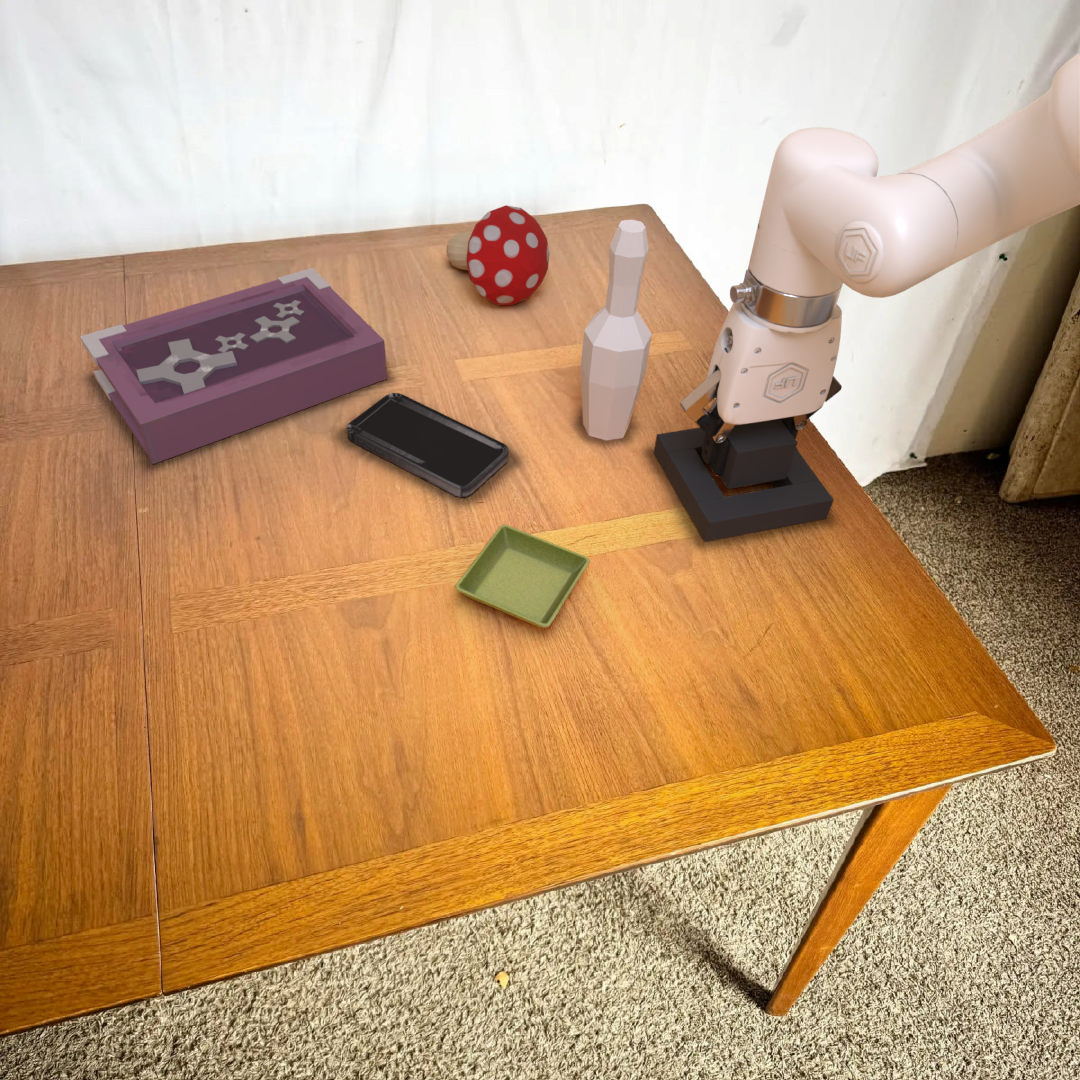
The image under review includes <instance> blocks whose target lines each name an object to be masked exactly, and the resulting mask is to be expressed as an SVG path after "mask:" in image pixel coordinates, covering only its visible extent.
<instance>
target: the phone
mask: <svg viewBox="0 0 1080 1080" xmlns="http://www.w3.org/2000/svg"><path fill="white" fill-rule="evenodd" d="M346 433H347V438H348V440H349V442H351V443H353V444H355V445H357V446H359V447H361V448H363V449H365V450H366V451H368V452H371V453H372V454H374V455H376V456H378V457H380V458H381V459H384V460H386V461H388V462H390V463H391V464H393V465H396V466H397V467H400V468H401V469H404V470H405V471H407V472H409V473H411V474H413V475H414V476H417V477H419V478H421V479H423V480H425V482H429V483H430V484H432V485H434V486H436V487H438V488H440V489H442V490H443V491H445V492H447V493H449V494H451V495H453V496H455V497H458V498H467V497H470V496H471V495H473V494H474V493H475V492H477V491H478V490H479V489H480V488H481V487H482V486H483V485H484V484H485V483H486V482H487V481H488V480H489V479H491V478H492V477H494V475H495V474H496V473H497V472H498V471H499V470H500V469H501V468H503V467H504V466H505V465H506V464H507V462H508V461H509V453H510V451H509V446H508V445H506V444H505V443H504V442H501V441H499V440H498V439H496V438H493V437H491V436H489V435H488V434H485V433H483V432H481V431H479V430H476V429H475V428H473V427H471V426H469V425H467V424H464V423H462V422H460V421H458V420H456V419H455V418H452V417H450V416H448V415H446V414H444V413H442V412H439V411H437V410H436V409H434V408H431V407H429V406H428V405H425V404H424V403H421V402H419V401H417V400H415V399H413V398H410V397H409V396H407V395H405V394H402V393H400V392H391V393H388V394H386V395H385V396H383V397H382V398H380V399H379V400H378V401H377V402H375V403H374V404H372V405H371V406H370V407H368V408H367V409H366V410H365V411H363V412H362V413H361V414H359V415H358V416H357V417H355V418H354V419H352V420H351V421H350V422H348V424H347V425H346Z"/></svg>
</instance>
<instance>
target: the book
mask: <svg viewBox="0 0 1080 1080" xmlns="http://www.w3.org/2000/svg"><path fill="white" fill-rule="evenodd" d="M79 338H80V341H81V343H82V346H83V347H84V348H85V350H86V351H87V354H88V355H89V356H90V358H91V359H92V361H93V362H94V364H95V365H96V367H99V369H96V370H93V375H94V378H95V380H96V381H97V383H98V385H99V386H100V388H101V389H102V390H103V392H104V394H105V395H106V397H107V398H108V400H109V401H110V402H111V403H112V405H114V408H115V409H116V411H117V412H118V414H119V415H120V417H121V418H122V420H123V422H125V424H126V426H127V427H128V429H129V430H130V432H131V433H132V435H133V436H134V438H135V440H136V441H137V442H138V444H139V445H140V447H141V448H142V450H143V451H144V453H145V454H146V456H147V458H148V459H149V460H150V462H151V464H152V465H155V464H158V463H160V462H163V461H167V460H169V459H171V458H174V457H177V456H180V455H183V454H185V453H187V452H190V451H193V450H197V449H199V448H202V447H204V446H206V445H209V444H213V443H215V442H219V441H220V440H221V441H222V440H224V439H227V438H229V437H232V436H235V435H238V434H240V433H242V432H246V431H247V430H252V429H254V428H256V427H258V426H261V425H265V424H268V423H270V422H272V421H275V420H278V419H281V418H283V417H287V416H290V415H292V414H294V413H297V412H300V411H303V410H306V409H308V408H311V407H313V406H316V405H319V404H322V403H325V402H328V401H330V400H333V399H335V398H338V397H342V396H344V395H346V394H349V393H352V392H355V391H357V390H360V389H363V388H365V387H368V386H371V385H374V384H377V383H379V382H382V381H385V380H387V379H388V373H387V372H388V371H387V358H386V357H387V356H386V345H385V340H384V338H383V337H382V336H381V335H379V334H378V332H377V331H376V330H375V329H374V328H373V327H372V326H371V325H369V323H367V321H365V320H364V319H363V318H362V317H361V315H359V314H358V313H357V312H356V311H355V310H354V309H353V307H351V306H350V305H349V304H348V303H347V302H346V301H345V300H344V299H343V298H342V297H341V296H340V295H339V294H338V293H337V292H336V290H334V289H333V288H332V286H331V284H330V283H329V282H328V281H327V280H326V279H325V278H324V277H322V275H321V274H320V273H318V272H317V271H316V269H315V268H314V267H310V268H306V269H303V270H300V271H296V272H293V273H289V274H286V275H284V276H279V277H277V279H275V280H271V281H268V282H265V283H261V284H258V285H255V286H251V287H247V288H245V289H241V290H238V291H235V292H231V293H228V294H224V295H220V296H218V297H217V296H216V297H214V298H210V299H207V300H204V301H201V302H197V303H194V304H190V305H188V306H187V305H186V306H184V307H181V308H176V309H174V310H171V311H166V312H164V313H160V314H157V315H153V316H149V317H147V318H143V319H140V320H136V321H133V322H130V323H127V324H123V323H121V324H118V325H113V326H111V327H107V328H104V329H101V330H97V331H94V332H90V333H87V334H84V335H81V336H79Z"/></svg>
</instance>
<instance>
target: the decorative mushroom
mask: <svg viewBox="0 0 1080 1080" xmlns="http://www.w3.org/2000/svg"><path fill="white" fill-rule="evenodd" d="M446 255H447V256H446V257H447V259H448V261H449V263H450V264H451V265H452V266H453V267H455V268H456V269H459V270H464V271H468V275H469V279H470V281H471V283H472V284H473V285H474V287H475V289H476V291H477V293H478V294H480V295H481V296H482V297H483V298H485V299H486V300H488V301H489V302H491V303H492V304H494V305H496V306H497V305H498V306H510V307H511V306H513V305H515V304H518V303H520V302H522V301H525V300H527V299H529V298H530V297H531V296H532V295H533V294H534V293H535V292H536V291H537V290H538V288H539V287H540V286H541V285H542V283H543V281H544V280H545V277H546V274H547V272H548V270H549V262H550V248H549V243H548V238H547V236H546V234H545V232H544V230H543V228H542V226H541V224H540V223H539V221H538V220H537V219H536V218H535V217H533V215H531V214H530V213H529V212H527V211H526V210H525V209H523V208H522V207H517V206H512V205H507V204H506V205H502V206H500V207H498V208H495V209H492V210H490V211H488V212H486V213H485V214H484V215H483V216H482V217H481V218H480V220H479V221H477V223H476V224H475V225H474V228H473V229H472V232H462V231H461V232H458V233H455V234H454V235H453V236H452V237H451V238H450V239H449V241H448V243H447V245H446Z"/></svg>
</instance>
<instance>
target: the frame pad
mask: <svg viewBox="0 0 1080 1080" xmlns="http://www.w3.org/2000/svg"><path fill="white" fill-rule="evenodd" d="M705 433H706V432H705V431H703V430H702V429H701V428H700V427H699V426H698V427H694V428H686V429H680V430H675V431H667V432H663V433H657V434H656V437H655V443H654V449H653V456H654V457H655V459H656V461H657V462H658V464H659V465H660V468H661V469H662V471H663V473H664V474H665V476H666V478H667V480H668V482H669V483H670V485H671V487H672V488H673V490H674V492H675V494H676V495H677V497H678V499H679V501H680V502H681V504H682V506H683V508H684V509H685V511H686V512H687V515H688V516H689V518H690V519H691V521H692V523H693V525H694V527H695V528H696V530H697V532H698V533H699V535H700V537H701V540H702V541H703V543H706V542H712V541H717V540H722V539H727V538H732V537H737V536H743V535H748V534H753V533H759V532H764V531H769V530H774V529H779V528H784V527H790V526H795V525H800V524H806V523H810V522H816V521H820V520H826V519H827V518H828V517H829V513H830V511H831V509H832V505H833V503H834V498H833V497H832V495H831V494H830V492H829V491H828V490H827V488H826V487H825V486H824V484H823V483H822V482H821V480H820V478H819V477H818V476H817V475H816V473H815V471H813V469H812V468H811V466H810V465H809V464H808V462H807V461H806V460H805V458H804V457H803V455H802V454H801V453H800V451H799V450H798V448H796V449H795V452H794V455H793V458H792V461H791V464H790V468H789V471H788V474H787V477H786V479H782V480H776V481H771V482H772V484H773V486H774V487H773V488H765V489H761V490H755V491H750V492H745V493H739V494H733V495H727V496H724V494H723V492H722V490H721V488H719V487H720V486H718V484H717V482H716V481H715V479H714V477H713V476H712V475H711V472H710V471H709V470H708V468H707V466H706V465H707V464H706V463H705V462H704V460H703V458H702V453H701V452H702V446H703V442H704V437H705Z"/></svg>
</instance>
